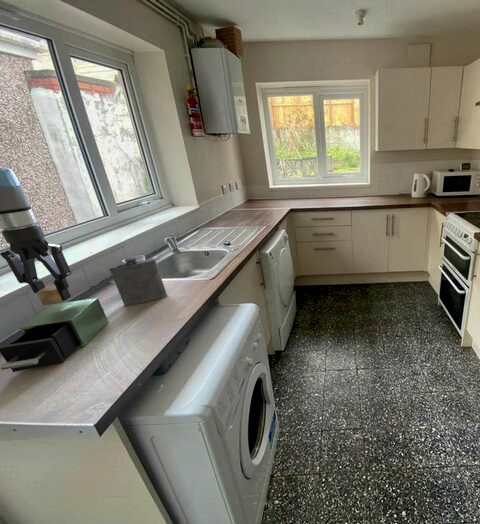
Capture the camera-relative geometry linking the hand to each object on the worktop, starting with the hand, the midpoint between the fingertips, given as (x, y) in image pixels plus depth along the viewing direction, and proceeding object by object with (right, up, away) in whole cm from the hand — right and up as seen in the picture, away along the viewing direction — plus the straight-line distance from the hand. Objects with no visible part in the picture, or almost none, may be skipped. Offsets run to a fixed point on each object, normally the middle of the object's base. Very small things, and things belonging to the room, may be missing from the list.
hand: (57, 299), depth 89 cm
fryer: (+3, -12, +3) cm, 13 cm away
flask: (+11, -4, +23) cm, 26 cm away
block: (0, 0, 0) cm, 0 cm away
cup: (-1, +2, +38) cm, 38 cm away
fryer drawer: (+6, -15, -8) cm, 18 cm away
